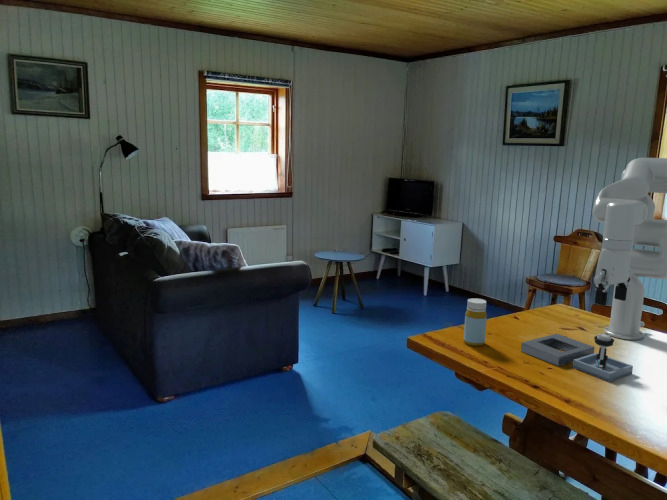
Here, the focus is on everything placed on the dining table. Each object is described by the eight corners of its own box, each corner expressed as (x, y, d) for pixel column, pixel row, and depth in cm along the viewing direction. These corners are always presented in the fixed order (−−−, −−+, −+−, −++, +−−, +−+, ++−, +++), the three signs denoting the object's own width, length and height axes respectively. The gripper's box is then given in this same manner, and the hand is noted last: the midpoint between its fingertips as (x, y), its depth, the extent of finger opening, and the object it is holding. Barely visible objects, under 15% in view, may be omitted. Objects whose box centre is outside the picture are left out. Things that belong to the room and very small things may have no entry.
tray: (595, 360, 164) (596, 352, 164) (632, 373, 155) (633, 365, 154) (572, 367, 159) (573, 359, 158) (609, 381, 149) (610, 373, 148)
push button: (610, 373, 153) (614, 341, 151) (589, 369, 155) (593, 337, 153) (611, 365, 158) (614, 334, 156) (591, 362, 161) (595, 331, 159)
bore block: (555, 341, 180) (556, 333, 180) (593, 355, 168) (594, 346, 168) (520, 351, 171) (521, 342, 170) (558, 366, 159) (559, 357, 159)
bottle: (477, 348, 173) (480, 304, 170) (459, 342, 178) (462, 300, 175) (488, 343, 178) (491, 301, 175) (471, 337, 183) (474, 296, 180)
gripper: (621, 240, 157) (615, 294, 160) (586, 245, 148) (580, 303, 152) (646, 244, 151) (639, 301, 154) (612, 249, 142) (605, 309, 145)
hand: (610, 302), depth 153 cm, fingers open, 9 cm apart
